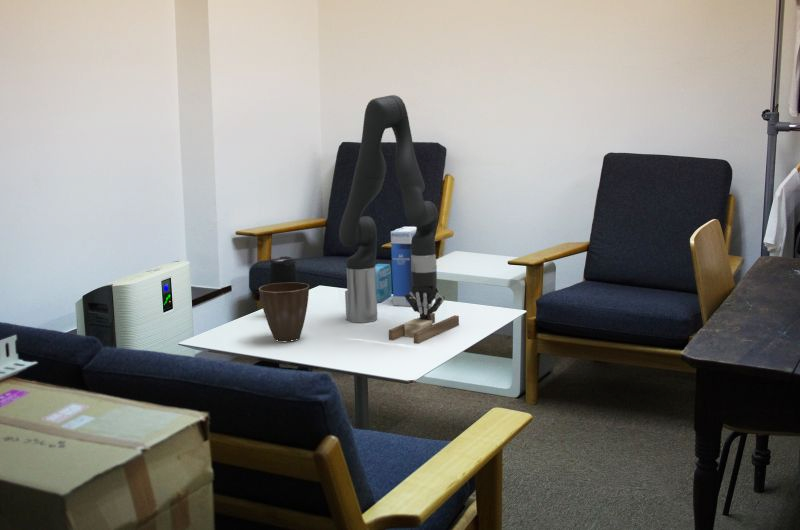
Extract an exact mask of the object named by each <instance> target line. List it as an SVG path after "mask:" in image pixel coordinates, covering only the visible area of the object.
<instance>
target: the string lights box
mask: <svg viewBox="0 0 800 530" xmlns="http://www.w3.org/2000/svg"><path fill="white" fill-rule="evenodd" d="M416 228H417V227H414V226H402V227H400V228H396V229H395V230H392V231H390V244H391V245H390V247H391V248H390V249H391V280H392V301H393V303H392V305H393V306H399V307H400V306H401V307H411V305H410V304H409V302H408V301H407V299H406V298H405V295H407V294H409V293H410V292H411V289H412V277H411V258H412V250H411V240H412V237H413V236H414V235H415V233H416ZM415 299H416V298H415ZM416 301H417V300H416Z"/></svg>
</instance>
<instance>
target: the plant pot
mask: <svg viewBox="0 0 800 530" xmlns="http://www.w3.org/2000/svg"><path fill="white" fill-rule="evenodd" d="M258 292H259V298H260V303H261V306H262V309H263V313H264V315H265V319H266V320H265V321H266V322H267V325H268V327H269V331H270V332H271V334H272V337H273V340H274V341H275V340H278V341H291V340H296V339H298V340H300V338H301V335H302V332H303V328H304V325H305V320H306V314H307V312H308V311H307V310H308V309H307V308H308V304H309V294H310V285H309V283H304V282H298V283H295V282H287V283H275V284H266V285H265V284H264V285H262V286H260V287H259V288H258ZM278 341H277V342H278ZM296 341H297V340H296ZM291 342H292V341H291Z"/></svg>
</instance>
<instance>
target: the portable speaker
mask: <svg viewBox="0 0 800 530" xmlns="http://www.w3.org/2000/svg"><path fill="white" fill-rule="evenodd" d="M269 263H270V264H269V271H268V282H269V284H275V283H287V282H295V283H299V281H298V272H297V267H296V262H295V259H294V258H293V257H291V256H286V255H285V256H279V257H277V258H270V260H269ZM269 284H268V285H269Z"/></svg>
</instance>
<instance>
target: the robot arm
mask: <svg viewBox="0 0 800 530" xmlns="http://www.w3.org/2000/svg"><path fill="white" fill-rule="evenodd" d="M408 114H409V113H408V110H407V107H406V105H405V102H404V101H403V99H402V98H401V96H399V95H396V94H393V95H386V96H379V97H376V98H372V99H371V100H369V102H368V103H367V105H366V108H365V111H364V115H363V116H364V117H363V125H362V126H363V127H362V133H361V134H362V136H361V141H360V147H359V152H358V153H359V154H358V157H357V160H356V165H355V169H354V173H353V179H352V184H351V188H350V193H349V197H348V199H347V203H346V206H345V210H344V212H343V216H342V218H341V221H340V225H339V233H338V234H339V242H340V243H341V245H342V246H344V247H346V248H355V247H357V248H358V247H359V248H358V250H357V251H356V252H355V253H354V254H353V255H350V256H348V258H347V259H346V261H345V262H346V263H345V265H346V285H347V290H345V291H344V297H345V298H344V299H345V316H346V317H345V320H346V321H349V322H352V323H369V322H370V323H371V322H374V321H376V320H378V302H377V295H376V272H375V265H376V261H377V241H378V240H377V238H378V237H377V235H378V234H377V226H376V222H375V220H374V219H373V217H371V216H369V215H368V216H362V215H363V213H364V211H365V210H366V208H367V207H368V206H369V205H370V203H371V202H373V201H374V199H375V198H376V197H377V195H378V194H379V193H380V191H381V190H382V187H383V184H384V181H385V177H386V172H387V163H386V160H385V157H384V154H383V152H382V147H381V146H382V145H381V144H382V139H383V136H384V132H385V130H386V129H392V131H393V135H394V137H395V142H396V143H395V145H396V148H395V150H396V151H395V159H394V171H395V175H396V179H397V182H398V185H399V188H400V190H401V193H402V202H403V209H404V214H405V217H406V220H407V221H408V223H409V224H410V225H411V227H417V228H416V233H415V235H414V236H413V237H412V240H411V250H412V258H411V277H412V289H411V292H410V293H409V294H407V295H405V298H406V299H407V301H408V302H409V304H410V305H411V306H410V307H411V308H412V310H413V311H414V312H416V313H419V317H420V319H422V320H431V317H430V314H431V313H436V312H437V310H438V309H439V308H440V307H441V305H442V304H443V302H445V299H446V298H445V296H443V295H440V294H439V290H438V287H437V285H438V277H437V276H438V274H437V273H438V272H437V268H438V265H437V258H436V257H437V256H436V235H437V230H438V224H439V211H438V208H437V206H436V204H434V203H433V202H432V201H430V200H424V196H423V192H424V191H425V189H426V185H425V181H424V178H423V175H422V173H421V170H420V167H419V163H418V161H417V157H416V153H415V148H414V142H413V137H412V136H413V135H412V131H411V126H410V121H409V120H410V119H409V116H408ZM415 298H416V299H415ZM416 300H417V301H416ZM433 301H434V303H433Z"/></svg>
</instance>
